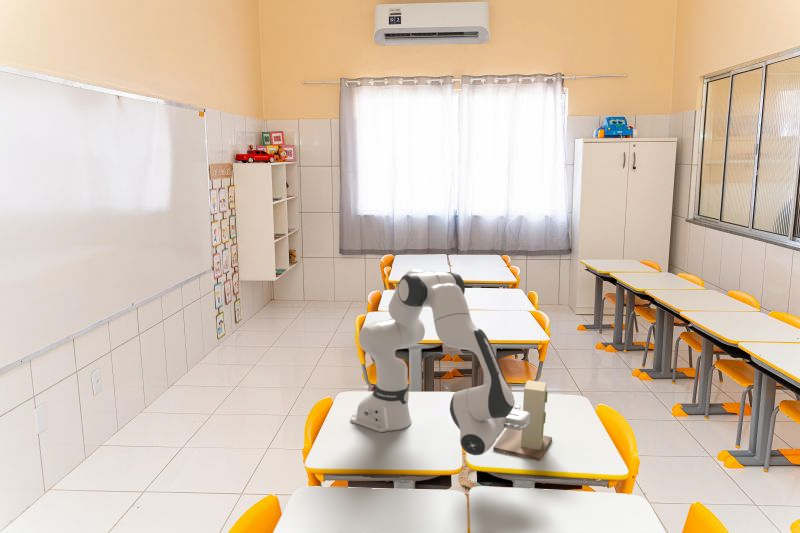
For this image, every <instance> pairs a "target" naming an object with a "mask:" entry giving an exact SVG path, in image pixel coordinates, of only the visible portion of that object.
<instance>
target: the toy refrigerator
mask: <svg viewBox="0 0 800 533" xmlns="http://www.w3.org/2000/svg"><path fill="white" fill-rule="evenodd" d="M548 392H549V391H547V382H546V381H545V382H544V381H536V380H526V382H525V385H524V389H523V403H522V404H523V406H522V411H527V412H529V413H530V423H529V425H528V426H527V427H526V428H525V429H523V430H521V431H522V437H521V447H525V448H531V449H537V450H541V446H542V441H543V435H544V429H545V424H546V418H547V412H546V403H548V397H549V396H548V394H549V393H548Z"/></svg>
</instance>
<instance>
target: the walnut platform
mask: <svg viewBox="0 0 800 533" xmlns="http://www.w3.org/2000/svg"><path fill="white" fill-rule="evenodd" d="M521 437H522V430H521V431H518V430H513V429H508V428H505V429H504V431H503V432H502V433H501V435H500V436H499V438H498V440H496V441H497V442H496V443H494V444H493V446H492V448H493V449H492V450H493V451H494V450H497V451H496V452H498V451H501V452H500V453H503V452H505V453H504V454H507V453H509V455H512V456H516V457H519V458H520V457H521V458H525V459H530V460H535V461H538V462H539V461H540V462H541V461H542V459H543V457H544V456H545V454H546V452H547V450H548V449H549V447H550V444H551V443H552V441H553V437H552V436H548V435H544V434H543V441H542V446H541V450H537V449H531V448H525V447H521Z"/></svg>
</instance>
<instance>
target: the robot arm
mask: <svg viewBox="0 0 800 533" xmlns="http://www.w3.org/2000/svg"><path fill="white" fill-rule="evenodd" d="M465 291H466V286H465V282H464V279H463V278H462V276H461V275H460V274H457V273H455V272H451V271H447V272H442V271H424V270H423V269H420V268H411V269H409V270H408V271H406V273H405V274H404V275H403V276H402V277H401V278H400V280H399V282H398V285H397V286H396V288H395V290H394V292H393V295H392V296H391V299H390V301H389V304H388V313H389V316H390V317H391V318H390V319H386V320H381V321H375V322H374V321H373V322H372V323H369V324H367V325H365V326H363V327H362V328H361V329H360V332H359V334H358V343H359V346H360V348H361V349H362V350H363V351H364V352H365V353H367V354H368V355H369V356H370V357H371V358H372V359H373V361H374V364H375V367H376V368H375V369H376V382H375V384H373V385H372V387H370V392H372V393H370V394H369V395H367V396H366V397H365V398H363V399H362V400H361V401H360V402H359V404H358V406H357V409H356V411H355V412H354V413H352V414H351V417H350V422H351V423H354V424H356V425H360V426H362V427H365V428H368V429H370V430H373V431H375V432H379V433H384V432H385V433H386V432H389V431H399V430H403V429H406V428H408V427H410V426H411V424H412V418H411V414H410V409H409V397H410V396H409V394H410V393H409V385H408V366H407V364H406V362H405V361H404V360H403V359H401V358H398V357H396V351H397V350H401V349H405V348H406V349H407V348H410V347H412V346H414V345H415V346H416V345H417V344H419V343H421V342H422V341H423V340H424V338H425V334H426V329H425V328H426V327H425V325H424V323H423V322H422V320H421V319H420V318H419V317H420V315H421V313H422V311H423V308H425V307H426V308H428V307H430V308H431V311H432V318H433V324H434V328H435V332H436V336H437V338H438V339H439V341H440V342H441V343H442V344H443V345H445V346H446V347H450V348H453V349H460V350H467V351H471V352H472V353H474V354H475V355H476V356H477V358H478V361H479V364H480V366H481V369H482V370H483V373H484V377H485V378H486V383H485V384H482V385H478V386H474V387H468V388H465V389H461V390H458V391H455V392H454V393H453V395H452V398H451V400H450V405H449V412H450V416H451V418H452V421H453V423H454V424H455V425H456V427H457V428H458V429H459V432H460V436H459V442H460V446H461V448H462V449H463V451H465V453H467V454H470V455H472V456H482V455H483V454H485V453H487V452H488V451H489V450H490V449H492V448H493V446H494V445H495V444H496V443H495V442H496V441H497V439H499V438H500V437H501V435H502V434H503V432H504V431H505V429H507V428H508V429H513V430H518V431H522V430H523V429H525V428H526V427H527V426H528V425H529V423H530V413H529V412H527V411H523V409H521V406H520V405H516V404H515V397H514V394H513V392H512V390H511V388H510V385H509V384H508V382H507V380H506V378H505V376H504V374H503V371H502V369H501V367H500V364H499V361H498V360H497V357H496V356H497V355H495V351H494V349H493V347H492V345H491V343H490V340H489V338H488V336H487V335H486V333H485V332H484V331H483V329H480V328H477V327H476V325H475V324H474V322H473V320H472V318H471V313H470V310H469V306H468V303H467V299H466V297H465Z"/></svg>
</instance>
